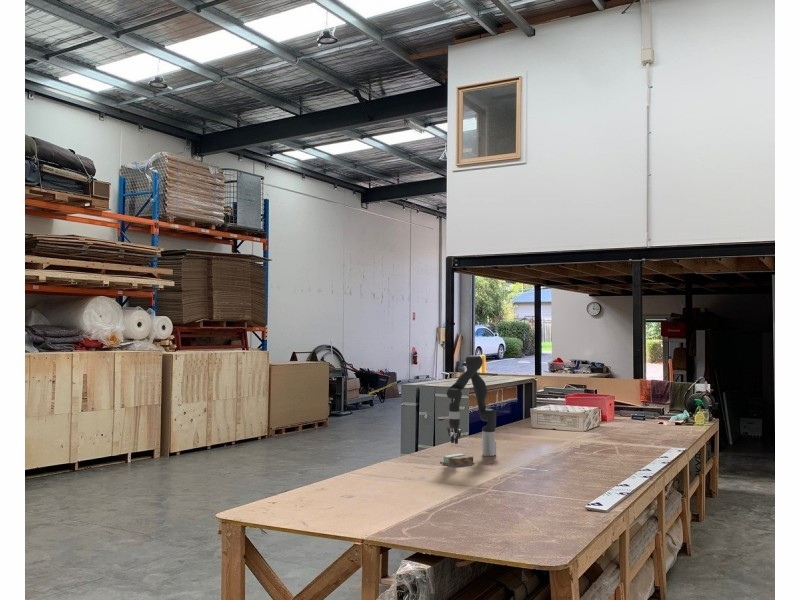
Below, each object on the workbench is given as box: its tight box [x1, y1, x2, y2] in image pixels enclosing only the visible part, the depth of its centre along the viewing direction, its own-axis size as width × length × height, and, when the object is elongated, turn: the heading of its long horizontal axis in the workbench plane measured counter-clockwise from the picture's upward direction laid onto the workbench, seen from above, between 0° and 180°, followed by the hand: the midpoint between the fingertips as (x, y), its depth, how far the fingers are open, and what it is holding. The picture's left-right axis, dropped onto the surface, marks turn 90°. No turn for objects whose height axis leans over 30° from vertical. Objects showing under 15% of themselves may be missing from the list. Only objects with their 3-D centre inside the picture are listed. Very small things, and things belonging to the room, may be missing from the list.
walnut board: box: [450, 454, 474, 465], centre depth 440 cm, size 16×5×4 cm, turn 121°
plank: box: [442, 453, 467, 463], centre depth 447 cm, size 16×5×4 cm, turn 129°
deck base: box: [439, 460, 475, 468], centre depth 444 cm, size 18×15×1 cm
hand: (454, 443), depth 447 cm, fingers open, 3 cm apart
